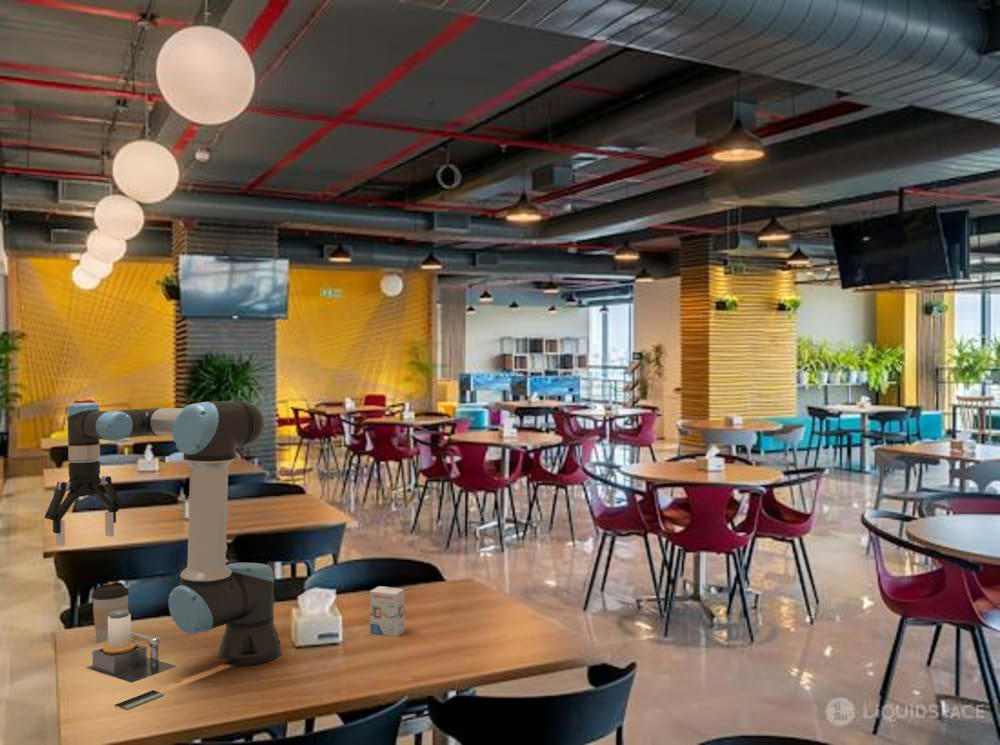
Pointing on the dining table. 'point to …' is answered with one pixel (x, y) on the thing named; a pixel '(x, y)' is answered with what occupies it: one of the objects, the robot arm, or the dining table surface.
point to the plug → (119, 633)
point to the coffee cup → (107, 606)
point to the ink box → (387, 611)
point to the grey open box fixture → (129, 663)
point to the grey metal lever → (146, 639)
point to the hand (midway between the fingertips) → (85, 540)
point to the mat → (139, 700)
